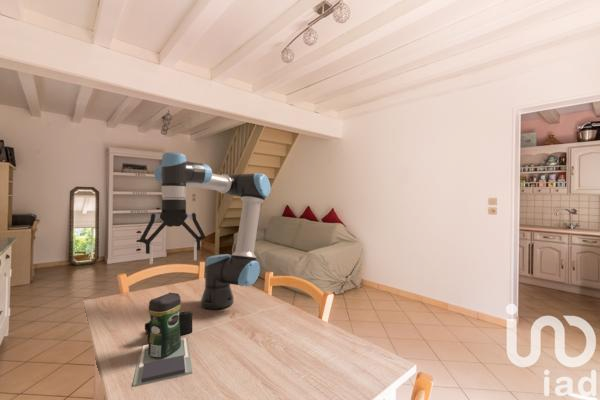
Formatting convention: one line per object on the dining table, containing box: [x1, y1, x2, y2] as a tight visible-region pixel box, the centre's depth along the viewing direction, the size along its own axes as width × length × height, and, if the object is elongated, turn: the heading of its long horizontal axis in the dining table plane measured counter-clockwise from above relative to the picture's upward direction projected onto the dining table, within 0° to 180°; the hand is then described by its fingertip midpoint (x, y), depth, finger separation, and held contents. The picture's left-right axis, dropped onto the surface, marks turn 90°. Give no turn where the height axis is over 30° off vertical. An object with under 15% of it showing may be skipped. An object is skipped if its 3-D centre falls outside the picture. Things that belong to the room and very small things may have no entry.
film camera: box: [144, 310, 194, 345], centre depth 103 cm, size 18×12×10 cm
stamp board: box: [132, 337, 193, 387], centre depth 88 cm, size 15×22×1 cm
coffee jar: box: [147, 292, 182, 358], centre depth 92 cm, size 10×8×19 cm
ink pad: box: [140, 355, 187, 383], centre depth 82 cm, size 12×8×1 cm
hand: (173, 261), depth 94 cm, fingers open, 13 cm apart
